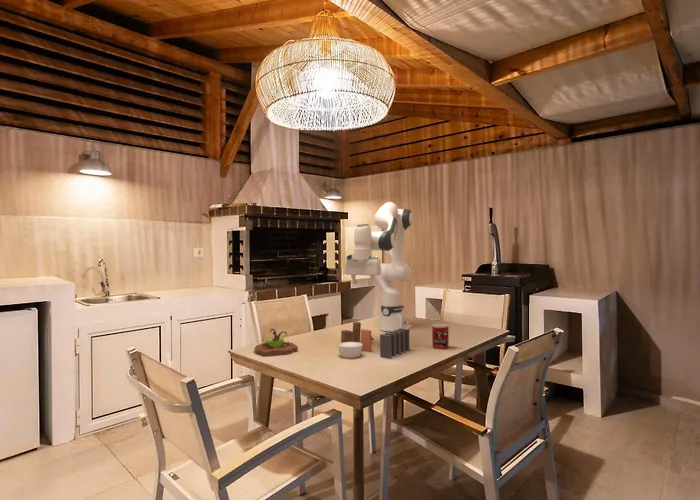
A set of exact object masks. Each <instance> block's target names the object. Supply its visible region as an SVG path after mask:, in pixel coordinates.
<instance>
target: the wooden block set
mask: <svg viewBox="0 0 700 500" xmlns="http://www.w3.org/2000/svg"><path fill="white" fill-rule="evenodd" d="M361 325H362V323H361V322H360V321H353V322H352V330H350V329H349V330H347V329H343V330H341V331H340V333H341V334H340V335H341V336H340V343H344V342H359V343H361V330H362V329H361V327H362V326H361ZM373 341H375V339H374V337H373V336H372V335H371V342H373Z"/></svg>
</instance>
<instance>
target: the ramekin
mask: <svg viewBox="0 0 700 500" xmlns="http://www.w3.org/2000/svg"><path fill="white" fill-rule="evenodd" d="M337 346H338V347H337V348H338V350H339V351H338V352H339V356H340V357H341V358H346V359H355V358H360V356H361V355H362V352H363V351H362V347H363V344H362V343H361V342H344V343H341V342H340V343H339V344H337Z"/></svg>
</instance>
